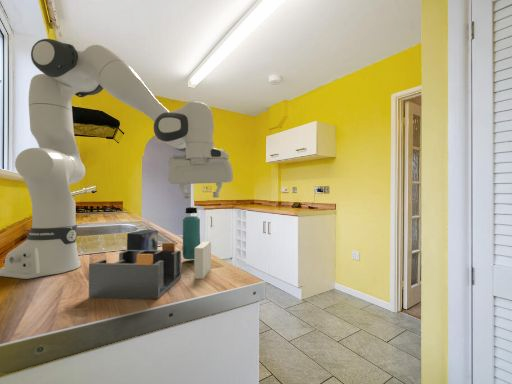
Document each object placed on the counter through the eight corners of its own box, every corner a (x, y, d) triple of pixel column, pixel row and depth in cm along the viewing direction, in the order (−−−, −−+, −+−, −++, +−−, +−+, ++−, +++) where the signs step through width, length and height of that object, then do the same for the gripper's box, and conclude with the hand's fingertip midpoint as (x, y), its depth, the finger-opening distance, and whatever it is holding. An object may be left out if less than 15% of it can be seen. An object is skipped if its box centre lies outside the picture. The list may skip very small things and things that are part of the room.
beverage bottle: (204, 260, 92) (204, 207, 92) (192, 264, 86) (192, 207, 86) (190, 258, 95) (190, 206, 95) (178, 262, 89) (178, 207, 89)
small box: (141, 262, 88) (141, 233, 88) (125, 261, 90) (125, 233, 90) (158, 255, 99) (158, 229, 99) (144, 254, 100) (144, 229, 100)
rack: (88, 297, 58) (89, 254, 59) (125, 276, 73) (125, 241, 74) (158, 299, 58) (158, 255, 58) (180, 277, 73) (181, 242, 73)
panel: (194, 278, 72) (194, 248, 72) (203, 268, 82) (203, 241, 82) (202, 278, 72) (202, 248, 72) (211, 268, 82) (210, 241, 82)
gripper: (164, 153, 75) (165, 198, 75) (229, 151, 73) (230, 197, 73) (173, 156, 81) (174, 198, 81) (233, 154, 79) (234, 196, 79)
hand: (201, 197), depth 77 cm, fingers open, 8 cm apart
